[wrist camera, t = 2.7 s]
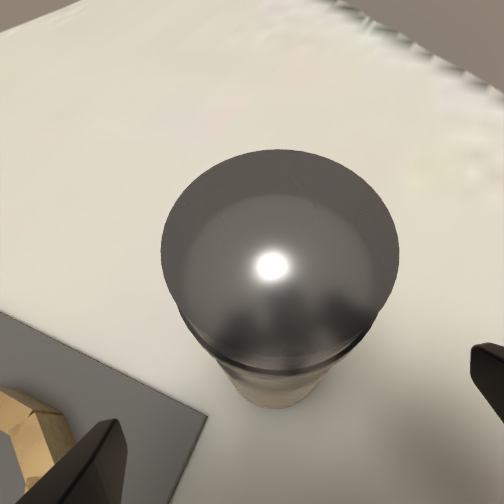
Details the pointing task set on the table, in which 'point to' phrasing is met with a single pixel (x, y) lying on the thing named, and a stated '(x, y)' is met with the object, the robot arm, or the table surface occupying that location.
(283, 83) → the table surface
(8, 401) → the ring collar
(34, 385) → the mat
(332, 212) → the grey tall cylinder
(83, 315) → the table surface
